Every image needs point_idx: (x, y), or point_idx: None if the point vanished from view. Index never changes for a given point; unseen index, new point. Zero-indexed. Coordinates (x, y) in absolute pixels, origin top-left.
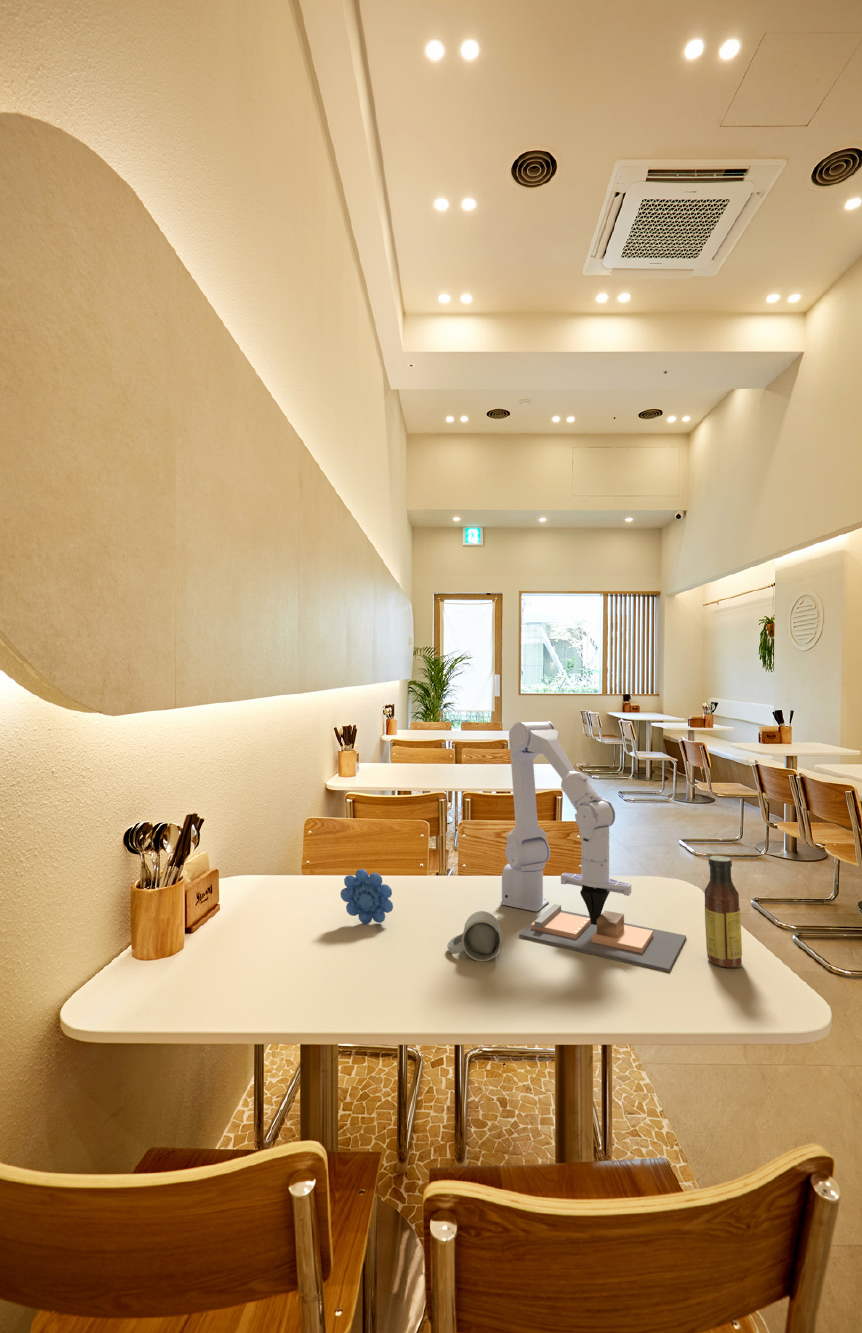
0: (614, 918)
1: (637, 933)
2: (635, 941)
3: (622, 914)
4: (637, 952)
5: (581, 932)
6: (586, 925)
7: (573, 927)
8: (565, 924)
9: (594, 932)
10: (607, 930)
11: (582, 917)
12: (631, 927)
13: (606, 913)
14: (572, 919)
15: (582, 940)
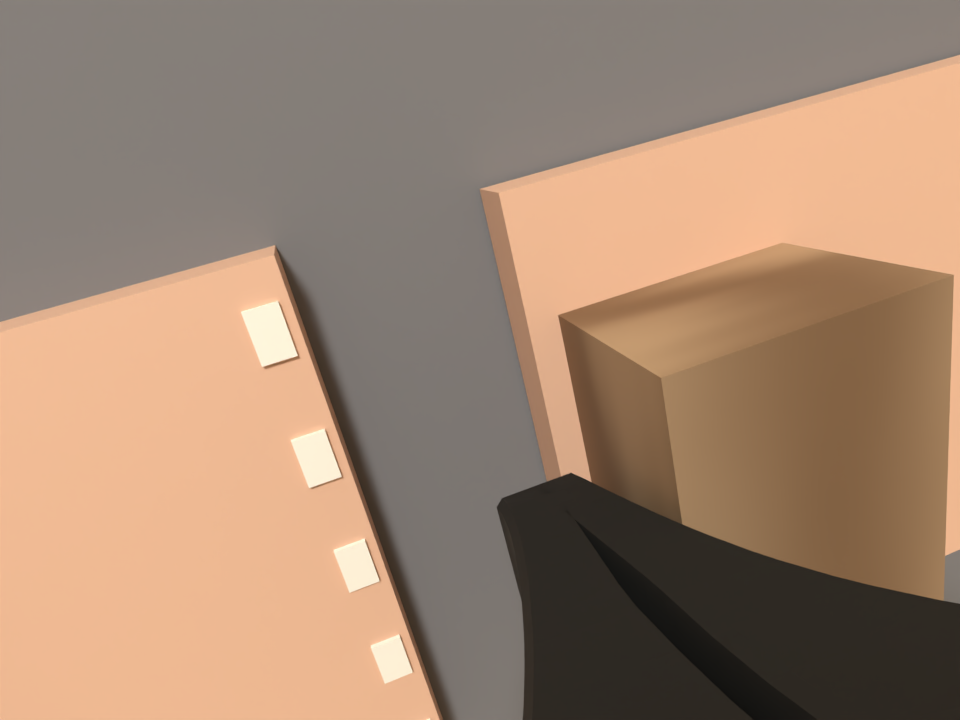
0: (884, 537)
1: (931, 257)
2: (953, 452)
3: (939, 309)
4: None
5: (400, 601)
6: (345, 448)
7: (319, 683)
8: (178, 697)
9: (486, 465)
10: None
11: (146, 319)
12: (841, 137)
13: (731, 472)
14: (104, 506)
15: (505, 699)
